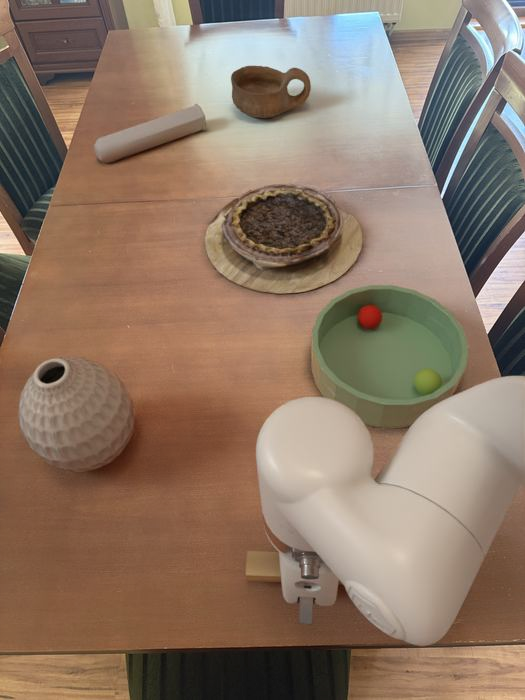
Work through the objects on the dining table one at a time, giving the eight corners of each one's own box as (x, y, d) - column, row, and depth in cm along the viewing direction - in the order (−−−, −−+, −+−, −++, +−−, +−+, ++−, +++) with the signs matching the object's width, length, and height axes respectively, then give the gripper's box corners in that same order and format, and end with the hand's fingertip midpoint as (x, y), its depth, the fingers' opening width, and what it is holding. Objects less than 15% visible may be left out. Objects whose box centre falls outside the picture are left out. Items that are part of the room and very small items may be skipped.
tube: (98, 153, 104) (206, 115, 111) (87, 135, 106) (195, 98, 112) (103, 171, 109) (206, 134, 116) (92, 153, 111) (195, 117, 117)
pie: (391, 254, 88) (396, 231, 84) (254, 319, 80) (252, 297, 76) (302, 176, 103) (302, 153, 99) (180, 224, 95) (175, 202, 91)
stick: (358, 585, 54) (361, 579, 52) (246, 581, 55) (245, 575, 53) (357, 561, 56) (359, 554, 54) (248, 557, 57) (246, 550, 55)
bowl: (298, 81, 125) (302, 43, 115) (313, 124, 120) (318, 88, 110) (226, 92, 123) (225, 54, 113) (239, 136, 118) (238, 100, 108)
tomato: (381, 334, 76) (385, 318, 73) (357, 334, 76) (359, 318, 74) (379, 316, 78) (382, 299, 76) (355, 316, 79) (358, 300, 76)
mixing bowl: (470, 429, 67) (484, 405, 62) (313, 427, 68) (314, 404, 63) (442, 311, 79) (452, 284, 75) (309, 312, 81) (310, 285, 76)
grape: (409, 379, 67) (423, 402, 67) (434, 366, 66) (448, 389, 66) (407, 375, 71) (421, 397, 71) (431, 362, 70) (445, 384, 70)
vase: (150, 400, 72) (119, 323, 59) (139, 487, 64) (100, 421, 51) (60, 404, 72) (9, 328, 59) (38, 491, 64) (-27, 426, 51)
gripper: (363, 625, 36) (341, 658, 50) (350, 422, 45) (335, 499, 60) (256, 620, 36) (266, 654, 51) (266, 420, 46) (271, 497, 60)
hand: (303, 570), depth 55 cm, fingers closed on stick, 2 cm apart
